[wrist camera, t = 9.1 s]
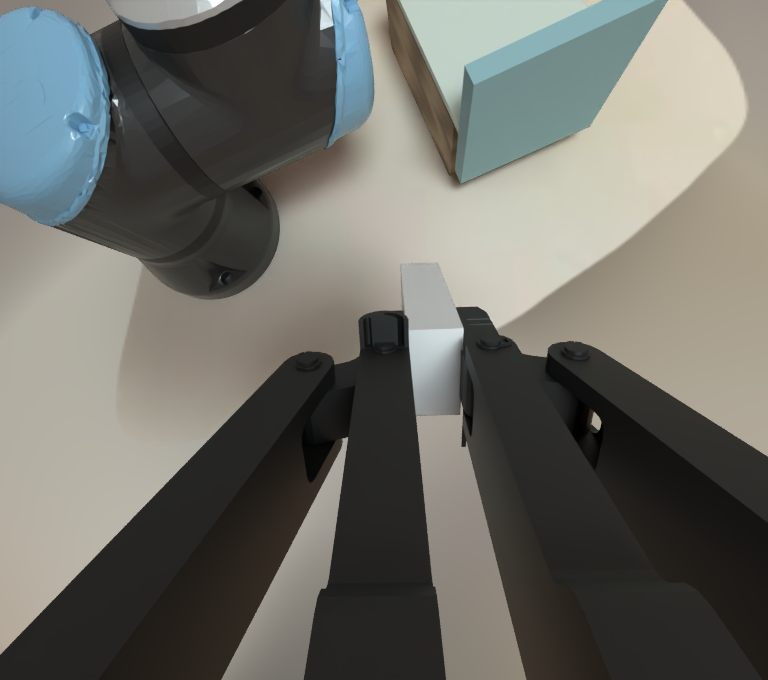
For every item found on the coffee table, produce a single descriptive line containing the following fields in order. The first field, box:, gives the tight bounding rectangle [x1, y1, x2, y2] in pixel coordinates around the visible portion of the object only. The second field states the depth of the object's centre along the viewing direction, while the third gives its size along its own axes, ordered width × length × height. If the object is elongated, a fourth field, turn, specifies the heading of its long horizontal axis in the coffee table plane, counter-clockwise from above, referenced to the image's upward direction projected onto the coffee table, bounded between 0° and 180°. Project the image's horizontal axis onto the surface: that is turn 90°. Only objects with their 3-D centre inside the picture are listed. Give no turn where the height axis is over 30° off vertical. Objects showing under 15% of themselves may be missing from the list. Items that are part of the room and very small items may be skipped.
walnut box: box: [386, 0, 458, 176], centre depth 40 cm, size 16×13×9 cm
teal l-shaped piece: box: [397, 0, 668, 184], centre depth 34 cm, size 18×13×14 cm
